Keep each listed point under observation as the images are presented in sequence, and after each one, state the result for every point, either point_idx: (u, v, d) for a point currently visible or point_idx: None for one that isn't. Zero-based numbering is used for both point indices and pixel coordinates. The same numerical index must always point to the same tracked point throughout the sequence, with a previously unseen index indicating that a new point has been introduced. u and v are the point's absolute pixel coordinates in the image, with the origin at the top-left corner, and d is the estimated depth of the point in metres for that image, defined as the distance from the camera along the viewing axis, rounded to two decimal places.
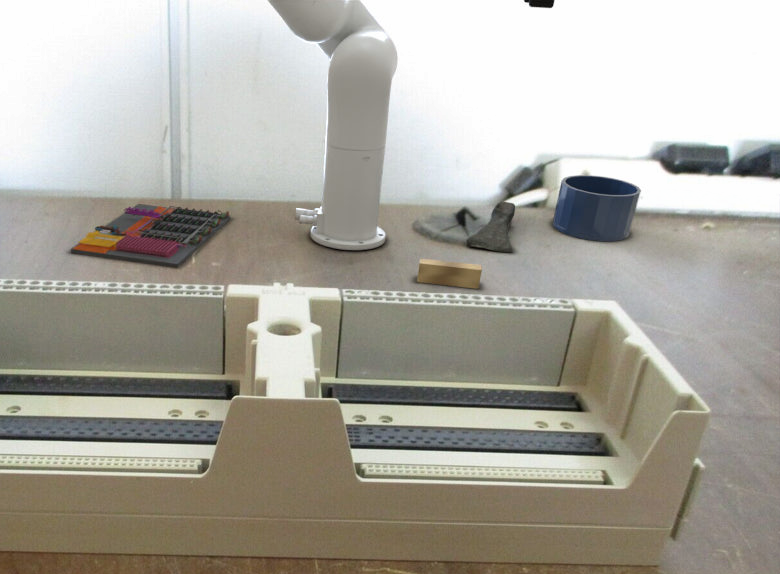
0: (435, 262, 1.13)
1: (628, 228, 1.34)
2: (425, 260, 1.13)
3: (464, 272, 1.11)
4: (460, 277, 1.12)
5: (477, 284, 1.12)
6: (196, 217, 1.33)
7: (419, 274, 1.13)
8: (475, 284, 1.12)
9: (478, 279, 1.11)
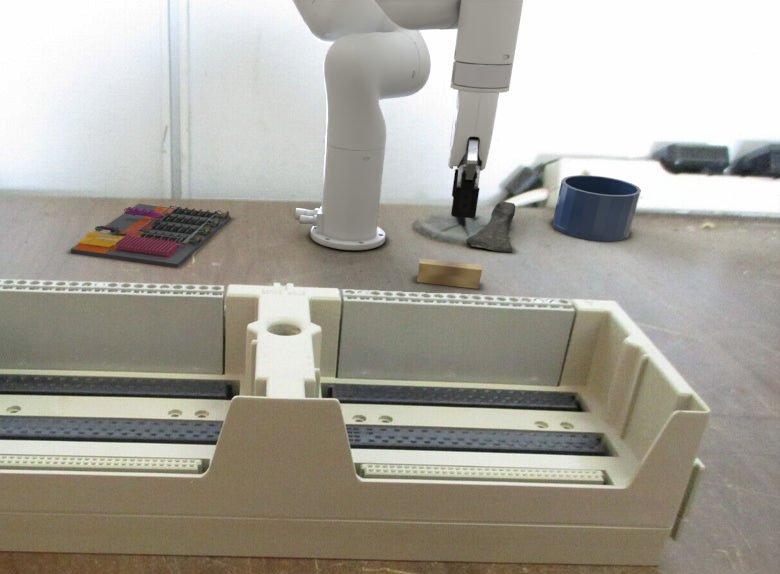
0: (435, 262, 1.13)
1: (628, 228, 1.34)
2: (425, 260, 1.13)
3: (464, 272, 1.11)
4: (460, 277, 1.12)
5: (477, 284, 1.12)
6: (196, 217, 1.33)
7: (419, 274, 1.13)
8: (475, 284, 1.12)
9: (478, 279, 1.11)
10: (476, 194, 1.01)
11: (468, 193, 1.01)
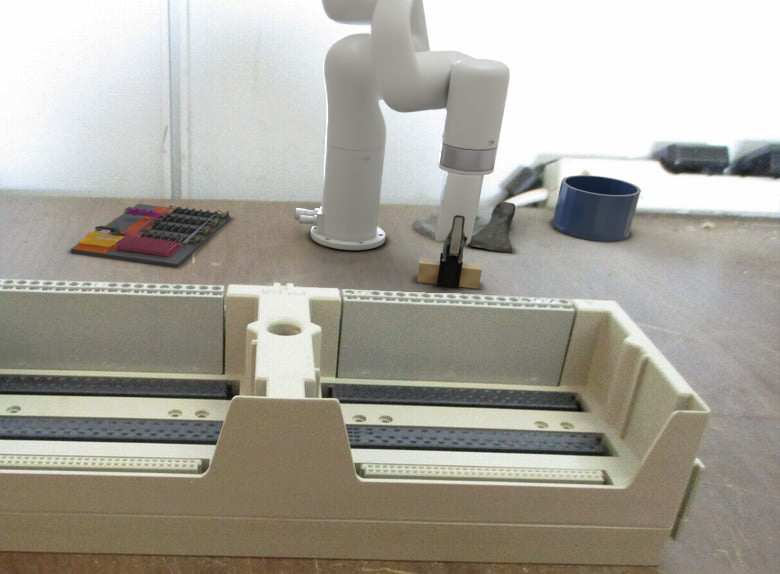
0: (435, 262, 1.13)
1: (628, 228, 1.34)
2: (425, 260, 1.13)
3: (464, 272, 1.11)
4: (460, 276, 1.12)
5: (477, 284, 1.12)
6: (196, 217, 1.33)
7: (419, 274, 1.13)
8: (475, 284, 1.12)
9: (478, 279, 1.11)
10: (460, 267, 1.10)
11: (452, 266, 1.10)
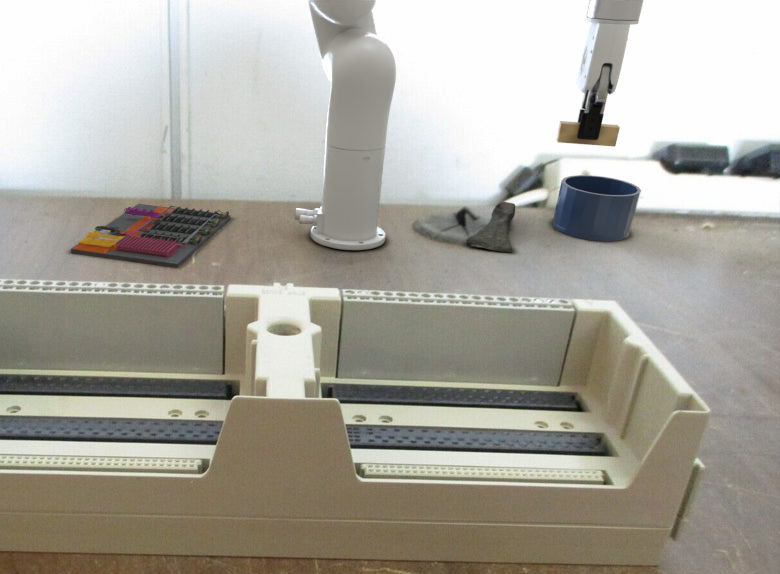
0: (575, 123, 1.23)
1: (628, 228, 1.34)
2: (565, 122, 1.24)
3: (603, 130, 1.22)
4: None
5: (614, 142, 1.23)
6: (196, 217, 1.33)
7: (560, 134, 1.24)
8: (612, 142, 1.23)
9: (616, 137, 1.22)
10: (600, 119, 1.21)
11: (594, 118, 1.20)
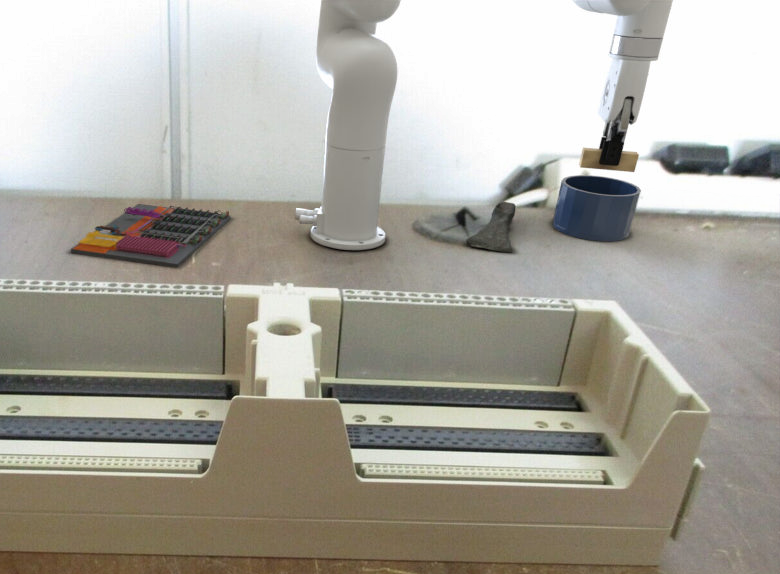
0: (597, 149, 1.32)
1: (628, 228, 1.34)
2: (588, 148, 1.33)
3: (623, 157, 1.31)
4: None
5: (633, 168, 1.32)
6: (196, 217, 1.33)
7: (583, 160, 1.33)
8: (632, 168, 1.32)
9: (635, 163, 1.31)
10: (621, 147, 1.30)
11: (615, 146, 1.29)
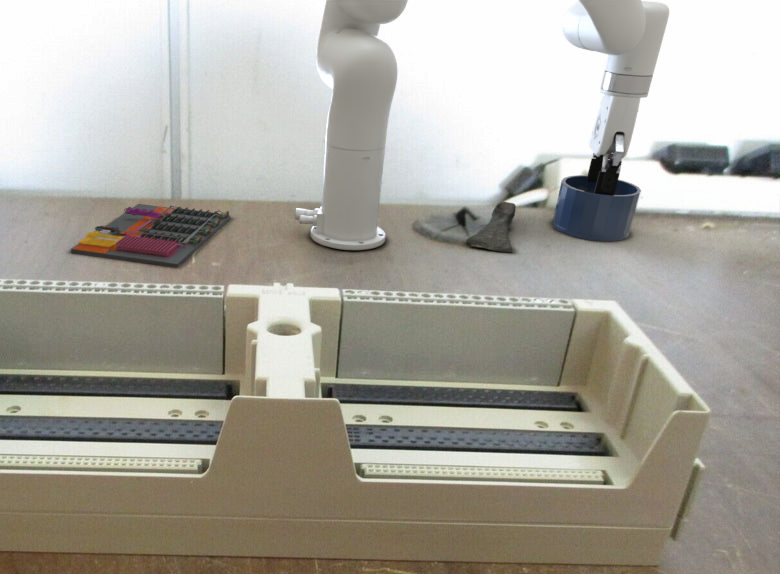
0: None
1: (628, 228, 1.34)
2: None
3: None
4: None
5: None
6: (196, 217, 1.33)
7: None
8: None
9: None
10: (616, 178, 1.29)
11: (611, 177, 1.29)
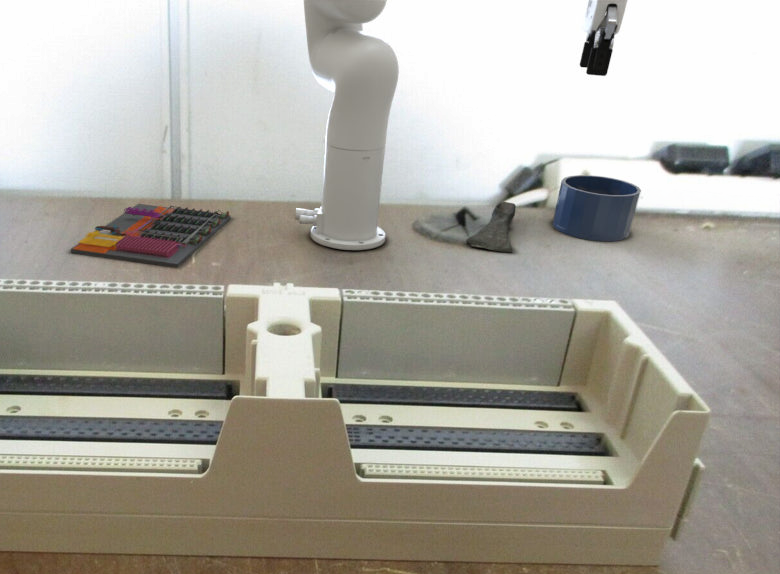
0: None
1: (628, 228, 1.34)
2: None
3: None
4: None
5: None
6: (196, 217, 1.33)
7: None
8: None
9: None
10: (609, 54, 1.23)
11: (603, 53, 1.23)
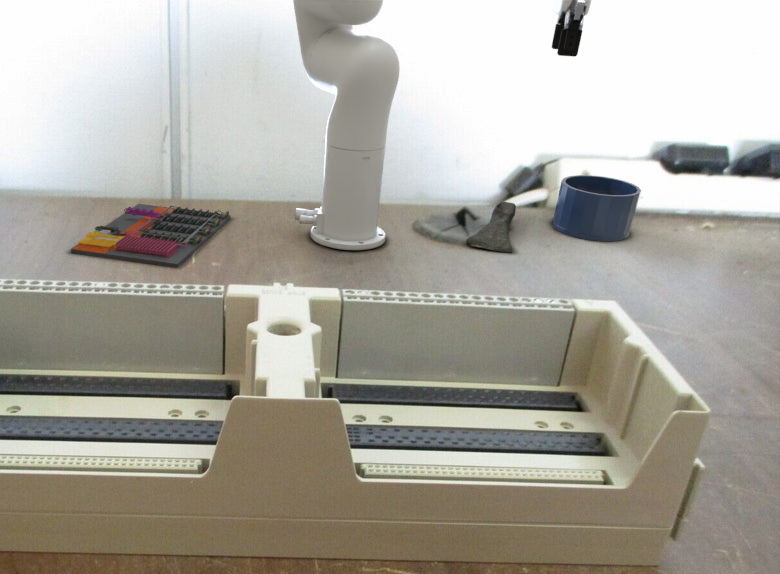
0: None
1: (628, 228, 1.34)
2: None
3: None
4: None
5: None
6: (196, 217, 1.33)
7: None
8: None
9: None
10: (579, 35, 1.26)
11: (573, 34, 1.25)
